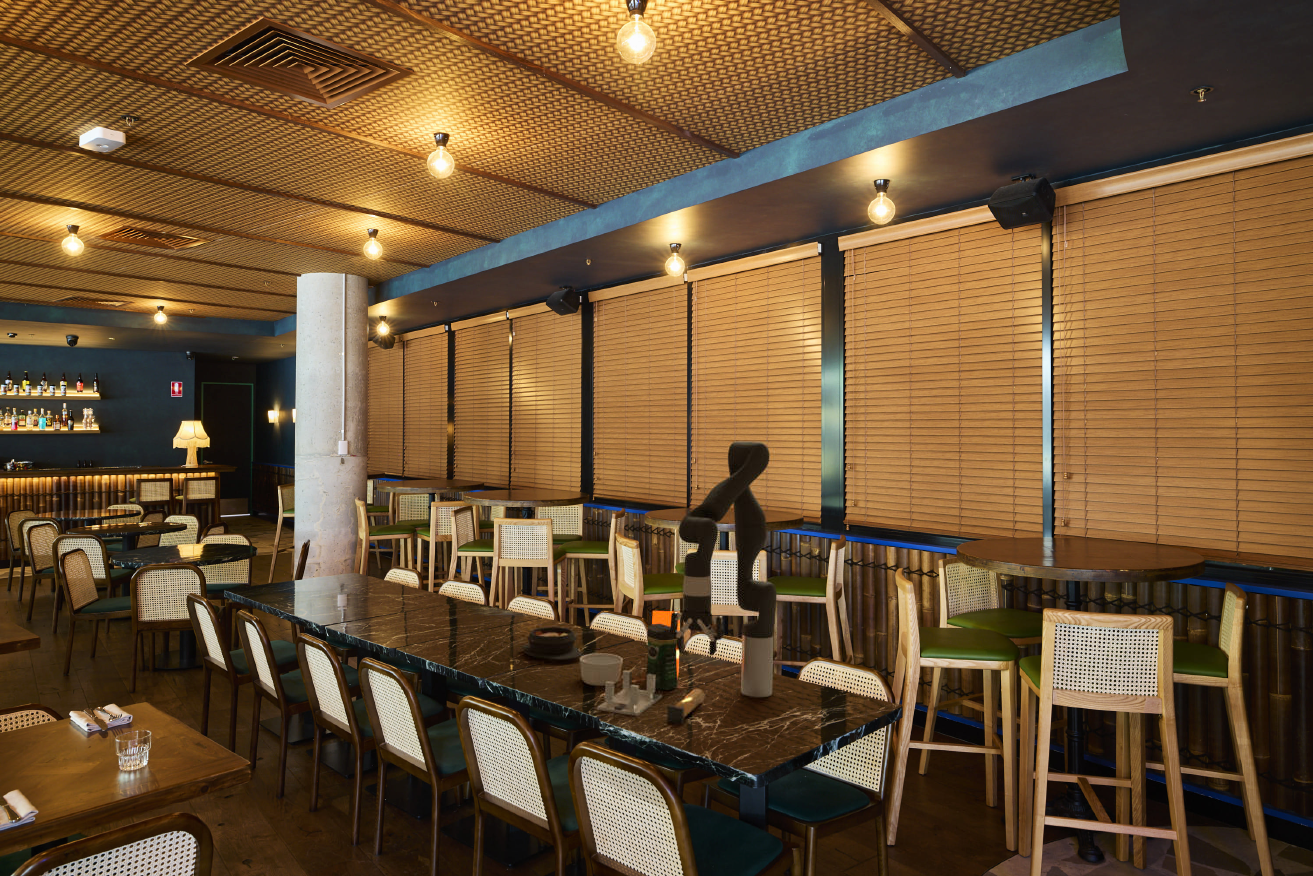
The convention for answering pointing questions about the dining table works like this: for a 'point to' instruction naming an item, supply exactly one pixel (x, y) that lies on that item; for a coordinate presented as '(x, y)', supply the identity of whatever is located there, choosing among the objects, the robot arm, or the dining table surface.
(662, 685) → the coffee jar
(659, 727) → the dining table surface
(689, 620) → the robot arm
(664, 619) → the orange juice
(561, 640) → the casserole
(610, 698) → the white holder rack
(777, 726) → the dining table surface
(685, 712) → the tube
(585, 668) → the ramekin
